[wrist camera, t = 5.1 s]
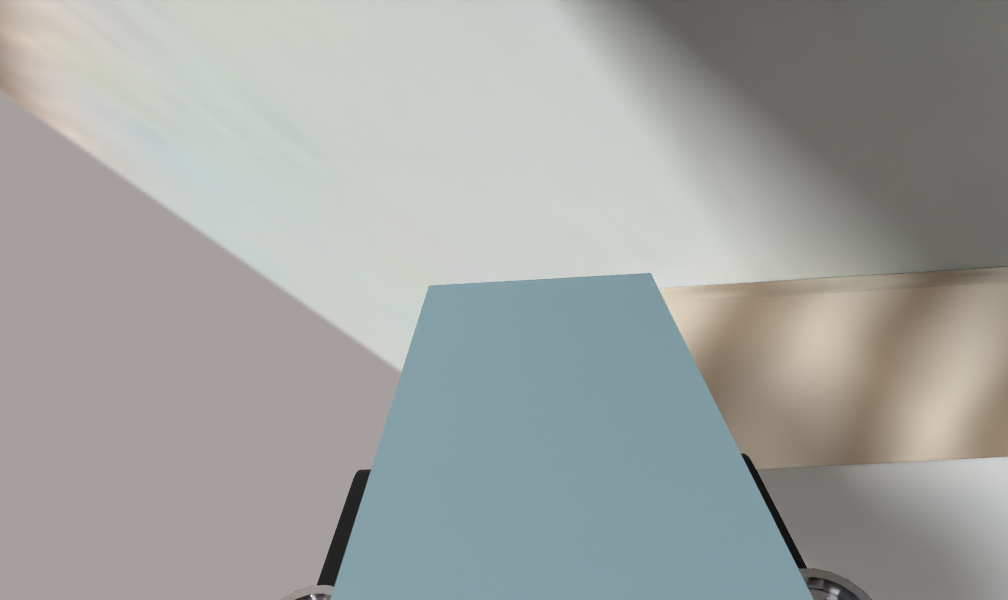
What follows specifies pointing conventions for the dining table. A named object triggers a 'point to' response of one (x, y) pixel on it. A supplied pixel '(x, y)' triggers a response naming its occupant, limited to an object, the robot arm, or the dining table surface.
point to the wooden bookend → (855, 365)
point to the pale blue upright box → (559, 459)
